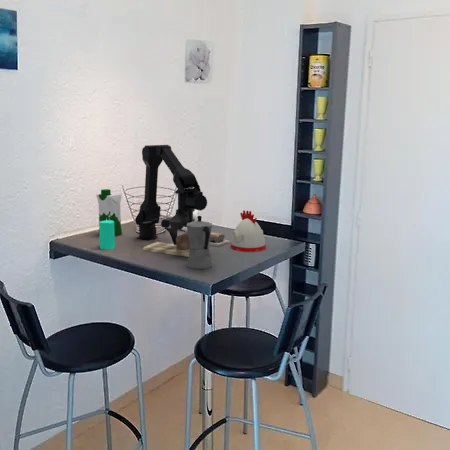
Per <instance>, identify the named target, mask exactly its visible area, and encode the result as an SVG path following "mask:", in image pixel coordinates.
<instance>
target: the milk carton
mask: <svg viewBox="0 0 450 450" xmlns="http://www.w3.org/2000/svg"><path fill="white" fill-rule="evenodd" d="M122 194H123V193H116V192H112V191H111V189H109V188H107V189H105V188H103V189H100V193H98V194H96V198H97V204H98V223H99V222H100V221H104V220H106V218H107V220H112V221H114V233H115V237H117V236H121V235H123V231H122V230H123V229H122V223H121V215H122V214H121V201H122V197H123V196H122Z"/></svg>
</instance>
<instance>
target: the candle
mask: <svg viewBox="0 0 450 450" xmlns="http://www.w3.org/2000/svg"><path fill="white" fill-rule="evenodd" d="M98 236H99V248H100V249H101V250H112V249H115V248H116V241H115V240H116V239H115V237H116V236H115V233H114V221H112V220H107V218H106V220H104V221H100V222H99V221H98Z"/></svg>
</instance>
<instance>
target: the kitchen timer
mask: <svg viewBox="0 0 450 450" xmlns="http://www.w3.org/2000/svg"><path fill="white" fill-rule="evenodd" d="M239 214H240V218H241V221H240V222H239V223H238V224H237V226H236V227H235V228H234V231H233V232H232V236H231V239H230V249H232V250H234V251H238V252H247V253H253V252H261V251H265V249H266V239H265V235H264V230H263V229H262V228H261V226H260V225H259V223H258V222H257V217H255V214H252V211H251V210H245V209H244V210H243V211H242V212H240V213H239ZM254 217H255V218H254Z"/></svg>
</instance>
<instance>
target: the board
mask: <svg viewBox="0 0 450 450" xmlns="http://www.w3.org/2000/svg"><path fill="white" fill-rule="evenodd" d="M143 251H147V252H153V253H160V254H167V255H173V256H174V255H175V256H180V257H181V256H182V257H188V256H189V251H187V252H181V251H176V245H174V243H168V242H161V241H160V242H159V241H156V242H153V243H151V244H148V245H145V246H144V247H143Z"/></svg>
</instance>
